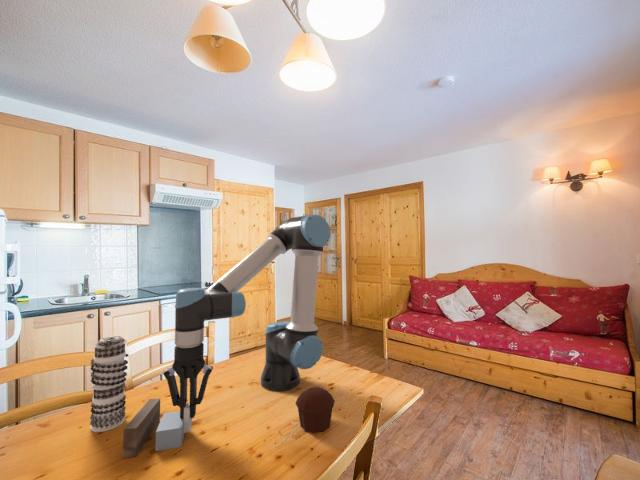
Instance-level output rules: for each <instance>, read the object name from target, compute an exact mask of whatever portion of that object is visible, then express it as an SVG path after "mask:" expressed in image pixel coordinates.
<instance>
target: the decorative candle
mask: <svg viewBox="0 0 640 480" xmlns="http://www.w3.org/2000/svg"><path fill="white" fill-rule="evenodd" d="M126 343H127V340H126V339H124V338H123V337H122V336H119V335H118V336H117V335H113V336H107V337H103V338H100V339H99V340H98V341H97V343H96V344H94V345H93V348H94V355H93V358H92V359H91V360H90V371H91V372H90V373H91V374H90V377H91V379H90V382H91V383H92V384H91V389H93V395H92V400H91V401H92V402H90V403H91V404H90V407H91V408H90V409H91V410H90V412H91V414H90V417H89V419H90V422H89V425H90V427H89V428H90V431H91V432H93V433H94V432H95V433H101V432H106V431H111V430H113V429H115V428H118V427H119V426H121V425H122V424H123V423H125V420H126V406H125V405H126V402H127V401H126V398H127V396H126V394H125V393H126V392H125V391H126V390H125V383H126V382H127V377H126V376H128V373H127V372H126V370H128V366H127V364H128V363H129V361H128V360H126V359H125V358H128V357H129V354H128V353H127V352H126Z"/></svg>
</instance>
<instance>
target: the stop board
mask: <svg viewBox="0 0 640 480" xmlns="http://www.w3.org/2000/svg"><path fill="white" fill-rule="evenodd" d="M160 421H161V398H149V399H147V401H146V403H145V404H144V405H143V406H142V407H141V408H140V409H139V411H137V413H136V414H135V415H134V416H133V418H132V419H131V420H130V421H129V422H128V423H127V424H126V426H125V427H124V428H123V438H122V440H123V441H122V458H123V459H125V458H126V459H127V458H136V457H137V456H138V455H139V453H140V451H141V450H142V449H143V447H145V445H146V443H147V441H148V440H149V439H150V437H151V436H152V434H153V432H155V431H156V429H157V428H158V426H159V423H160Z"/></svg>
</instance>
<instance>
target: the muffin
mask: <svg viewBox="0 0 640 480" xmlns="http://www.w3.org/2000/svg"><path fill="white" fill-rule="evenodd" d="M335 403H336V402H335V399H334V397H333V395H332V394H331V392H330V391H329V390H327V389H324V388H323V387H319V386H314V387H309V388H307V389H305V390H304V391H302V392H301V393H300V394H299V396H298V398H296V401H295V405H296V407H297V413H298V416H299V417H298V418H299V425H300V428H302V430H303V431H304V432H306V433H311V434H314V435H315V434H319V433H320V434H321V433H324V432H326V431H327V430H328V429H330V427H331V421H332V415H333V414H332V413H333V408H334V406H335Z"/></svg>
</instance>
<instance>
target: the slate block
mask: <svg viewBox="0 0 640 480" xmlns="http://www.w3.org/2000/svg"><path fill="white" fill-rule="evenodd" d="M183 429H184V419H181V418H180V410H179V411H172V412H171V411H170V412H164V413H163V414H162V417H161V418H160V423H159V424H158V426H157V427H156V429H155V452H159V451H164V450H169V449H170V450H171V449H177V448H182V444H183V441H184V437H185V433H186V432H185V433H183Z"/></svg>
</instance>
